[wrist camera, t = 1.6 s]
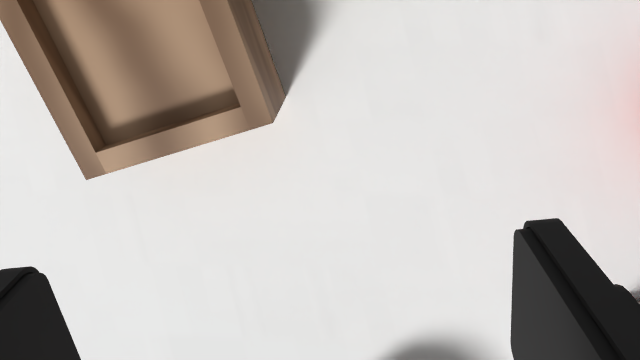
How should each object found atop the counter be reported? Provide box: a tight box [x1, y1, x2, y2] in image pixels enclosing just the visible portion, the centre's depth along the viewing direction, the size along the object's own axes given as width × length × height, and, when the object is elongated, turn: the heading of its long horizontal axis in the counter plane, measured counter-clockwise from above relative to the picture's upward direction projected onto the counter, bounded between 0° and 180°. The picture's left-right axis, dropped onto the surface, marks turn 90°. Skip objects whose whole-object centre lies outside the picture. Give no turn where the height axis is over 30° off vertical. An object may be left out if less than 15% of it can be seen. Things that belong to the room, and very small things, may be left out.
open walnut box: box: [0, 0, 286, 180], centre depth 33 cm, size 13×13×6 cm
